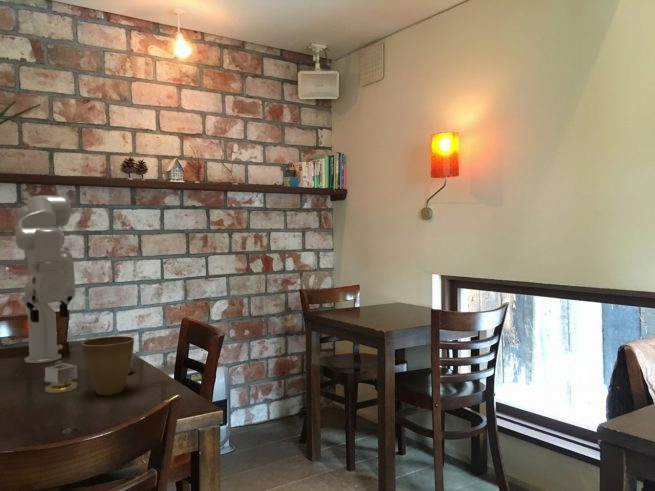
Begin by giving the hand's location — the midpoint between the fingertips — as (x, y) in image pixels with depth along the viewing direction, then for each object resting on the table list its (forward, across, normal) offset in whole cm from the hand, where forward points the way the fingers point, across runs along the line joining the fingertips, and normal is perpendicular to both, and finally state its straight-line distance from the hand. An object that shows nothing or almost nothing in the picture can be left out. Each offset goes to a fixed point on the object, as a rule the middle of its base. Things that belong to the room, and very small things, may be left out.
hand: (49, 319), depth 172 cm
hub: (+21, -3, -9) cm, 23 cm away
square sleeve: (+18, -2, -9) cm, 20 cm away
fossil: (+21, +17, -11) cm, 29 cm away
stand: (+21, +4, +1) cm, 22 cm away
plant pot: (+20, +3, -26) cm, 33 cm away
